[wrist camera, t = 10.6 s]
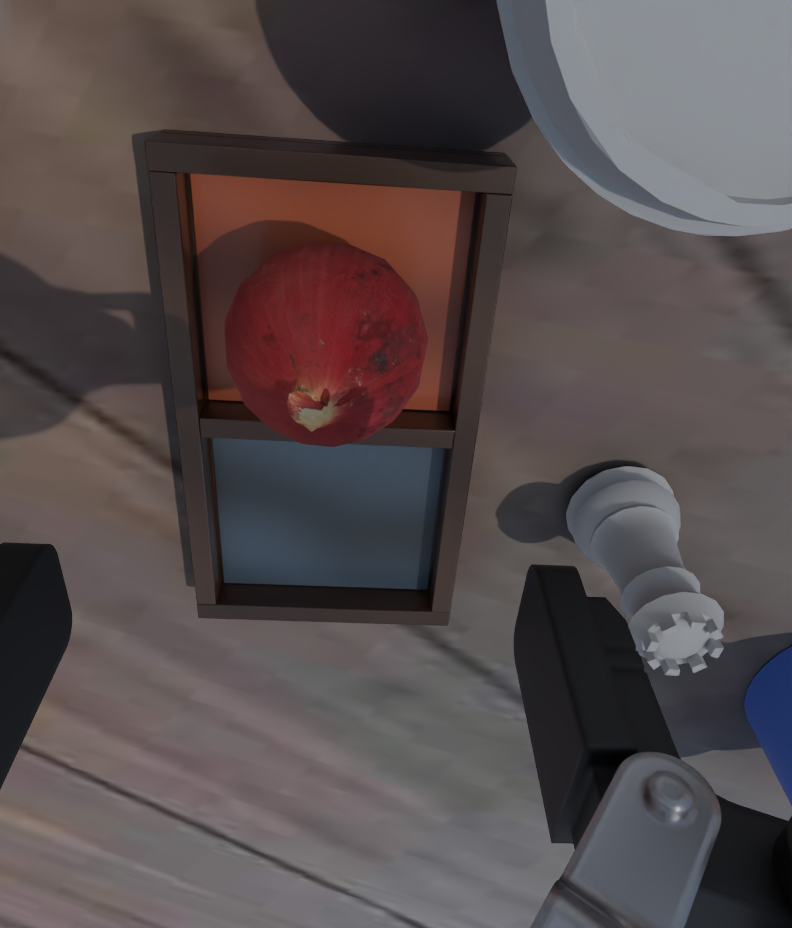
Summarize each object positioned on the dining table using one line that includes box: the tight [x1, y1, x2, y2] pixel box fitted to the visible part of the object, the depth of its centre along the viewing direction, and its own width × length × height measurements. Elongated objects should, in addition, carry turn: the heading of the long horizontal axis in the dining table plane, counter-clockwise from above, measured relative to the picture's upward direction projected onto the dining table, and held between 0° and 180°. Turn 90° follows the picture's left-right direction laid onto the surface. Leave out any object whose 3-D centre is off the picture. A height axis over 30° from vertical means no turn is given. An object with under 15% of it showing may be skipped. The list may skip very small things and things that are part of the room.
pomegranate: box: [225, 242, 428, 447], centre depth 21 cm, size 6×6×8 cm
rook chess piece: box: [566, 466, 724, 676], centre depth 27 cm, size 4×4×8 cm
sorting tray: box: [145, 130, 517, 626], centre depth 26 cm, size 19×11×2 cm, turn 176°
